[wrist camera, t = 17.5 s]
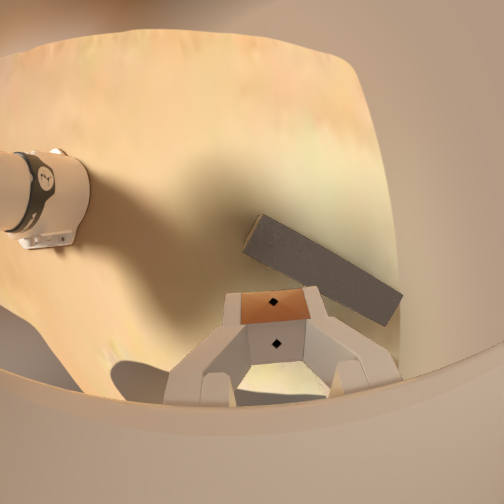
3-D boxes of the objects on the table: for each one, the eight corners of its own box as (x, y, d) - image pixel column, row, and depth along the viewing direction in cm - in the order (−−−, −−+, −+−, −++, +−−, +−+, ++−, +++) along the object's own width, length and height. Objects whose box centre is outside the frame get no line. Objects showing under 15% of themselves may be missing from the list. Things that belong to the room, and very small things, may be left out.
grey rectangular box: (242, 246, 41) (240, 255, 32) (259, 214, 41) (262, 213, 31) (357, 307, 43) (383, 329, 33) (373, 279, 42) (403, 295, 33)
